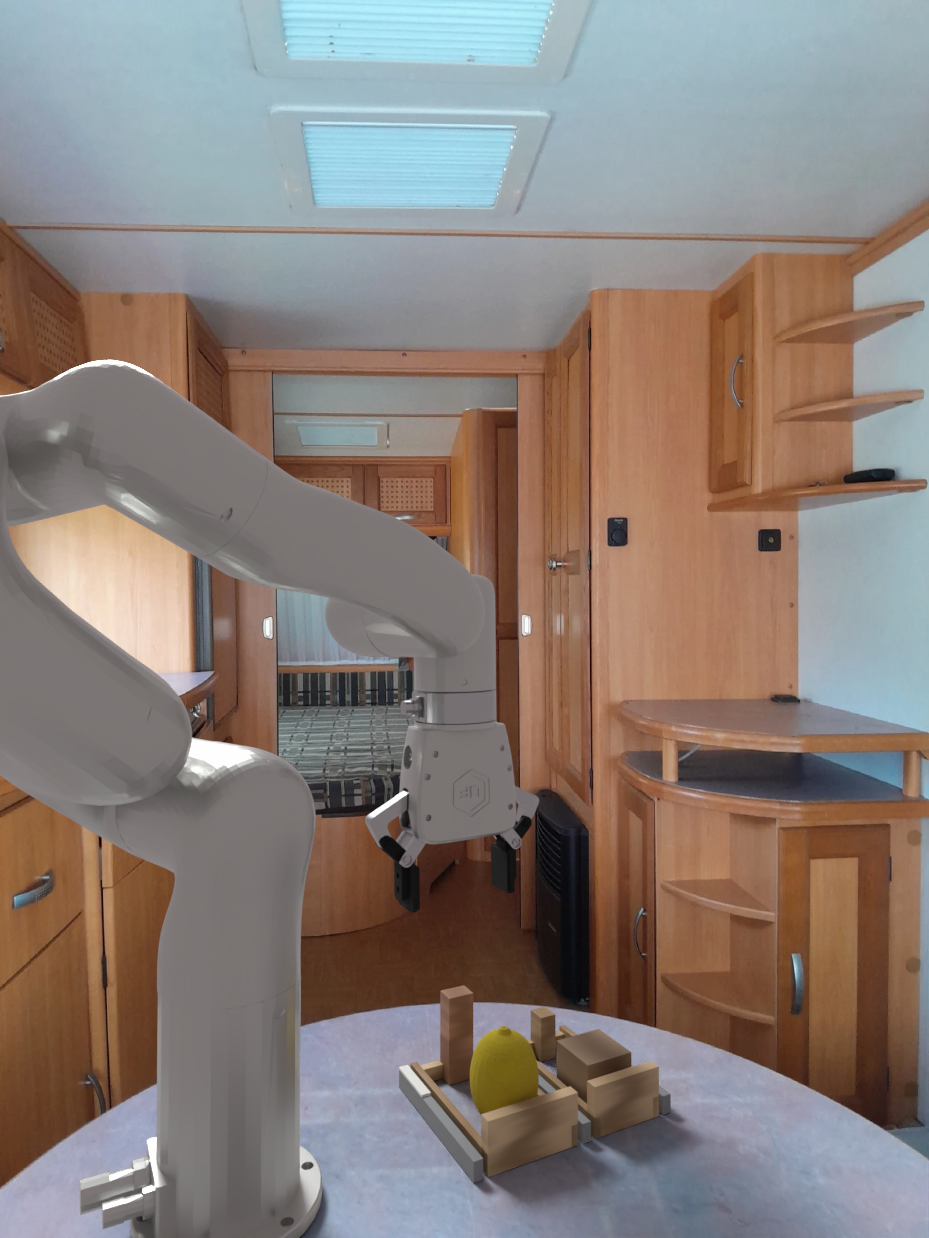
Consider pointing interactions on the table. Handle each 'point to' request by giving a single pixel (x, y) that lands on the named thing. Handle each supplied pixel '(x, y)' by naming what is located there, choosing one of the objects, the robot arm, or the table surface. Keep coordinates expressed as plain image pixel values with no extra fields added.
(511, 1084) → the lemon
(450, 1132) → the lane rails
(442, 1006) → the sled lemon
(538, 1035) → the cube
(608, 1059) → the walnut cube
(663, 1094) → the rail right
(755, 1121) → the table surface
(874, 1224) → the table surface
